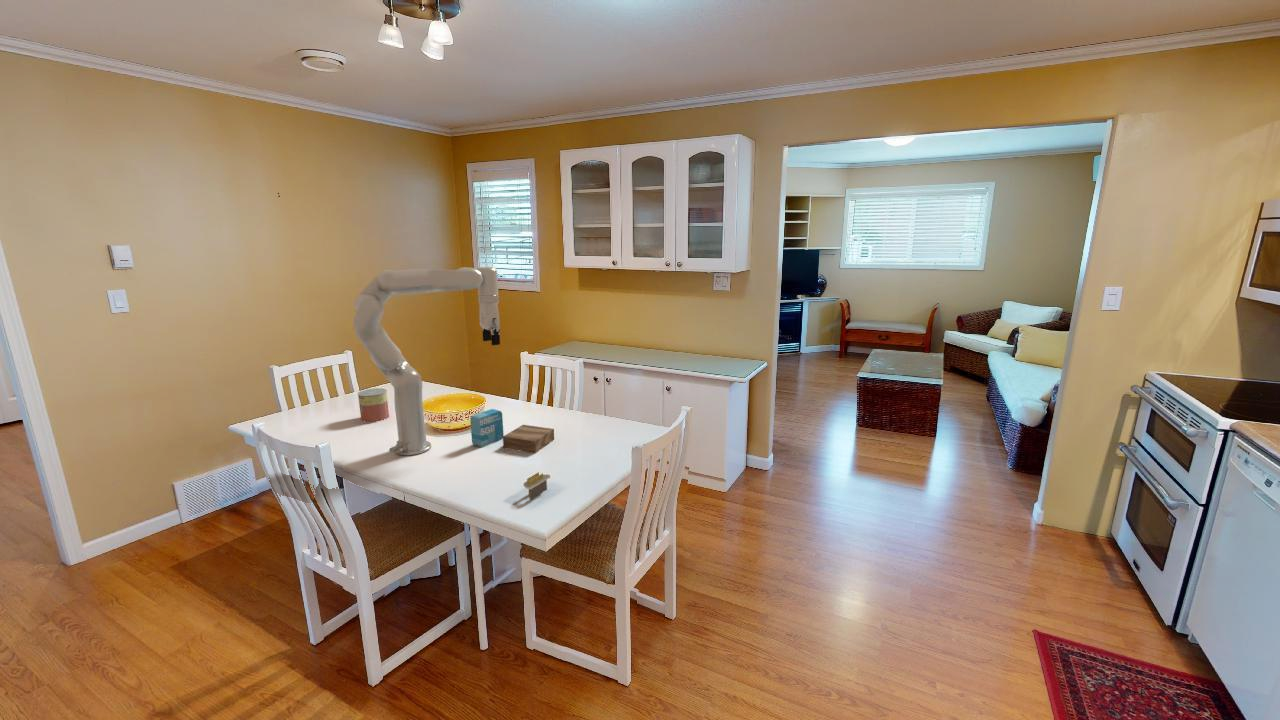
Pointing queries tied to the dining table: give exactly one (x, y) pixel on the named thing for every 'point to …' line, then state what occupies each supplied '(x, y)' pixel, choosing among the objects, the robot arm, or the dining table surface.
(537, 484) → the platform
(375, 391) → the canned food
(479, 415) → the blue flat box
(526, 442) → the walnut base block
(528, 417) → the dining table surface
